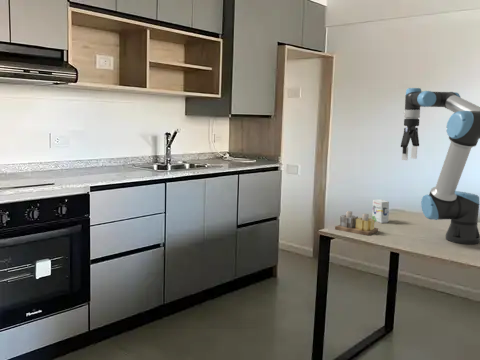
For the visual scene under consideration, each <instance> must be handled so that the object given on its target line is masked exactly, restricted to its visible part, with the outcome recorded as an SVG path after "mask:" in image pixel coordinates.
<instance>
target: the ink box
mask: <svg viewBox="0 0 480 360" xmlns="http://www.w3.org/2000/svg"><path fill="white" fill-rule="evenodd" d="M389 213H390V202H389V201H388V200H384V199H380V198H378V199H372V214H371V215H372V218H371V219H374V220H375V222H376V223H381V224H384V223H385V224H387V223H389Z"/></svg>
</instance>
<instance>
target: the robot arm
mask: <svg viewBox="0 0 480 360" xmlns="http://www.w3.org/2000/svg"><path fill="white" fill-rule="evenodd" d="M405 90H406V91H405V96H404V97H405V99H404V100H405V101H404V111H403V114H404V119H403V126H405V127H404V128H403V134H402V138H401V143H400V148H402V149H401V161H408V160H409V159H408V156H409V155H408V154H409V147H408V146H409V144H410V141H411V144H412V145H411V150H410V151H411V152H410V159H413V160H414V159H415V160H416V159H417V157H418V155H417V154H418V147H420V139H419V128H418V127H419V126H420V119H419V118H420V117H421V108H429V107H430V108H445V109H446V110H449V111H451V112H452V114H451V115H450V117H449V118H448V121H447V123H446V133H447V135H448V140H449V141H450V144H449V146H448V148H447V149H448V150H447V153H446V155H445V159H444V160H443V161H444V162H443V164H442V166H441V169H440V173H439V176H438V179H437V182H436V184H435V186H434V187H432V188H431V189H430V191H429V194H425V195H423V196H422V198H421V202H420V204H421V205H420V207H421V211H422V214H423V215H424V216H425V218H426V219H428V220H434V221H439V220H450V223H449V225H448V228H447V231H446V233H445V239H446V241H449V242H452V243H456V244H463V245H477V244H480V232H479V231H480V230H479V228H478V224H479V223H478V222H479V221H478V220H479V211H480V209H479V208H480V196H478V195H477V194H475V193H471V192H466V191H459V190H457V188H458V185H459V182H460V179H461V178H462V177H461V176H462V174H463V172H464V169H465V166H466V163H467V161H468V158H469V155H470V153H471V151H472V150H471V149H472V148H473V147H474V148H475V147H476V146H477V145H478V141H479V140H480V106H479V105H476V104H474V103H472V102H470V101H468V100H467V99H464V98H462V97H461V95H460V93H459V92H453V91H431V90H424V91H422V88H421V87H420V88H419V87H412V88H411V87H408V88H406V89H405Z"/></svg>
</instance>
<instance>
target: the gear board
mask: <svg viewBox="0 0 480 360" xmlns="http://www.w3.org/2000/svg"><path fill="white" fill-rule="evenodd" d="M369 216H370V215H369V213H362V217H361V218H362V220H366V221H367V220H368V218H370V217H369ZM358 218H359V216H357V215H353V211H350V210H348V211H346V212H345V215H344V214H343V215H341V216H340V218H339V225H335V226H334V230H337V231H343V232H348V233H353V234H359V235H363V236H369V235H372V234H374V233H377V232H379V228H377V227H374V229H373V230H371V231H364V230H359V229H355V227H356V219H358Z"/></svg>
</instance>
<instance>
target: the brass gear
mask: <svg viewBox="0 0 480 360" xmlns="http://www.w3.org/2000/svg"><path fill="white" fill-rule="evenodd" d="M375 222H376V221H375V220H374V219H372V218H370V217H369V218H368V220H367V221H366V220H362V217H358V219H356V227H355V229H359V230H364V231H371V230H373V229H374V228H375Z"/></svg>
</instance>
